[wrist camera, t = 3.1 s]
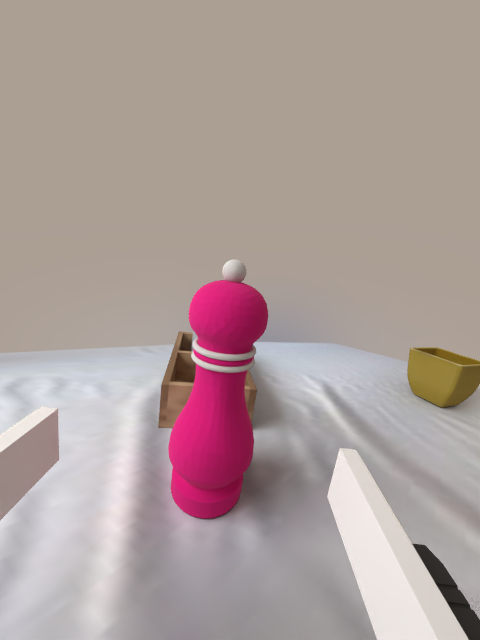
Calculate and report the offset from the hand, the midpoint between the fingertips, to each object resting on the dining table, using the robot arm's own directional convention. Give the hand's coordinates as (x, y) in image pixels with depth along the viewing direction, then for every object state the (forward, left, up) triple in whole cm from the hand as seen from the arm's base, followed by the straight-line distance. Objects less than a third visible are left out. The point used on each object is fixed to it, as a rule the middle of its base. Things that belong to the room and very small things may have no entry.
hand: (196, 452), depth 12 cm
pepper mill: (-2, -9, -11) cm, 14 cm away
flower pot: (-45, -27, -11) cm, 53 cm away
